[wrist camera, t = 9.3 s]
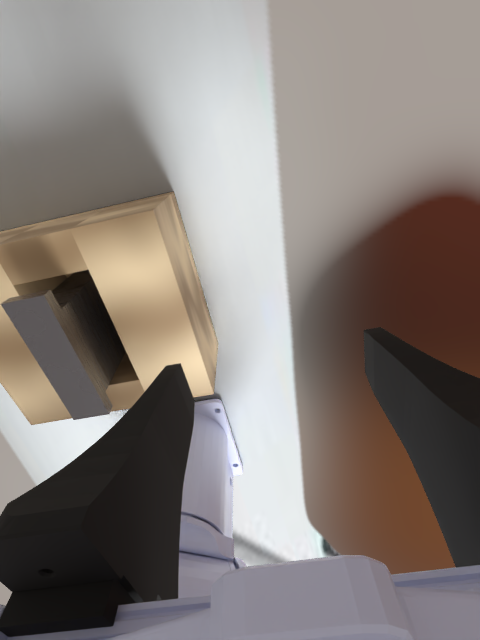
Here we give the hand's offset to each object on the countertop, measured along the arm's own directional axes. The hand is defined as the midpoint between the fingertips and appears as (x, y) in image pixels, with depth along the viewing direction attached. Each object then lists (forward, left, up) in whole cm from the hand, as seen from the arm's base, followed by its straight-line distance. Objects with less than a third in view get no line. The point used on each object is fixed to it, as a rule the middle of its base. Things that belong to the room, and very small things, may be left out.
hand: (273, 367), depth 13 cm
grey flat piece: (+1, +10, -9) cm, 14 cm away
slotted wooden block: (+1, +10, -10) cm, 14 cm away
